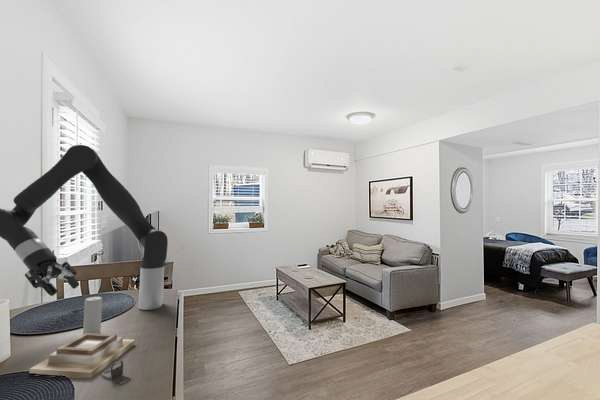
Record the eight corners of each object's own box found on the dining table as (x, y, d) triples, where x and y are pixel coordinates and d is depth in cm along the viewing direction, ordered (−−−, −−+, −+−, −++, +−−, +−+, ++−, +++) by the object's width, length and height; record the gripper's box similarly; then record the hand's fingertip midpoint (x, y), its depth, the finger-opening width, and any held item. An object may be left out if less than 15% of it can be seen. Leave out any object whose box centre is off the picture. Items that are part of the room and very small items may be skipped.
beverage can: (90, 338, 92) (93, 301, 92) (78, 336, 93) (81, 299, 93) (103, 332, 97) (106, 297, 97) (92, 330, 98) (94, 295, 98)
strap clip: (100, 377, 73) (101, 360, 73) (112, 371, 75) (113, 354, 75) (119, 387, 69) (120, 370, 69) (132, 381, 71) (133, 364, 71)
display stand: (85, 341, 90) (86, 326, 90) (134, 344, 89) (135, 329, 89) (29, 374, 72) (30, 356, 72) (90, 378, 71) (91, 359, 71)
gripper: (22, 250, 89) (55, 288, 89) (62, 244, 104) (90, 277, 103) (5, 266, 89) (37, 304, 89) (47, 258, 104) (75, 291, 103)
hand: (66, 290), depth 96 cm, fingers open, 8 cm apart
